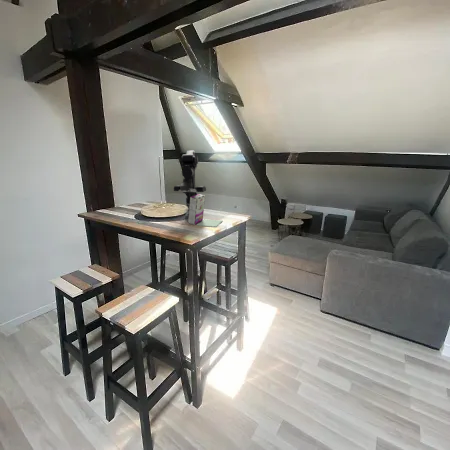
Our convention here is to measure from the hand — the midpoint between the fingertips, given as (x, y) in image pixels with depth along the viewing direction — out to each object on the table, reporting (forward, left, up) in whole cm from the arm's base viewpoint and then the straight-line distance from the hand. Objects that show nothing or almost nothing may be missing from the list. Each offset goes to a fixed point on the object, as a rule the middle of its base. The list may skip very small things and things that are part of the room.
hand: (190, 202), depth 145 cm
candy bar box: (+3, 0, -12) cm, 12 cm away
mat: (+12, +1, -12) cm, 17 cm away
